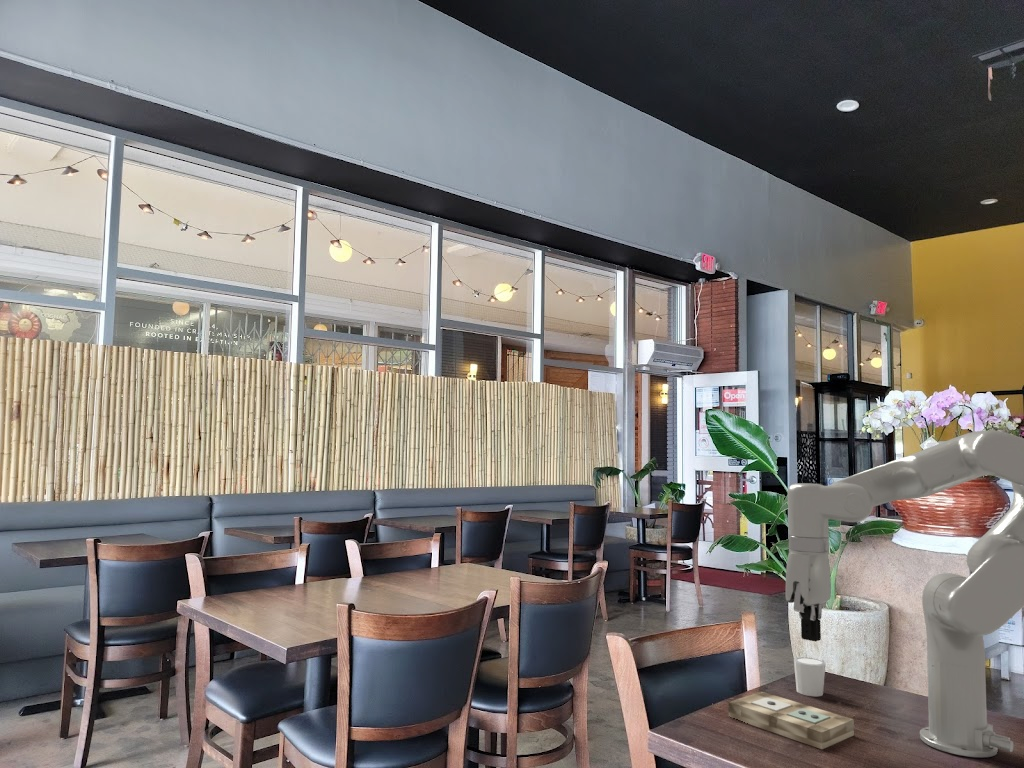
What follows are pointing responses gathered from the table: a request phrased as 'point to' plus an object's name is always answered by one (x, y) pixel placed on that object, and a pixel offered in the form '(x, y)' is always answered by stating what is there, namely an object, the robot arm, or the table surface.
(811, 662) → the white cup
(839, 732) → the tile board
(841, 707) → the table surface
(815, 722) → the two dot tile
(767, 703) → the one dot tile
